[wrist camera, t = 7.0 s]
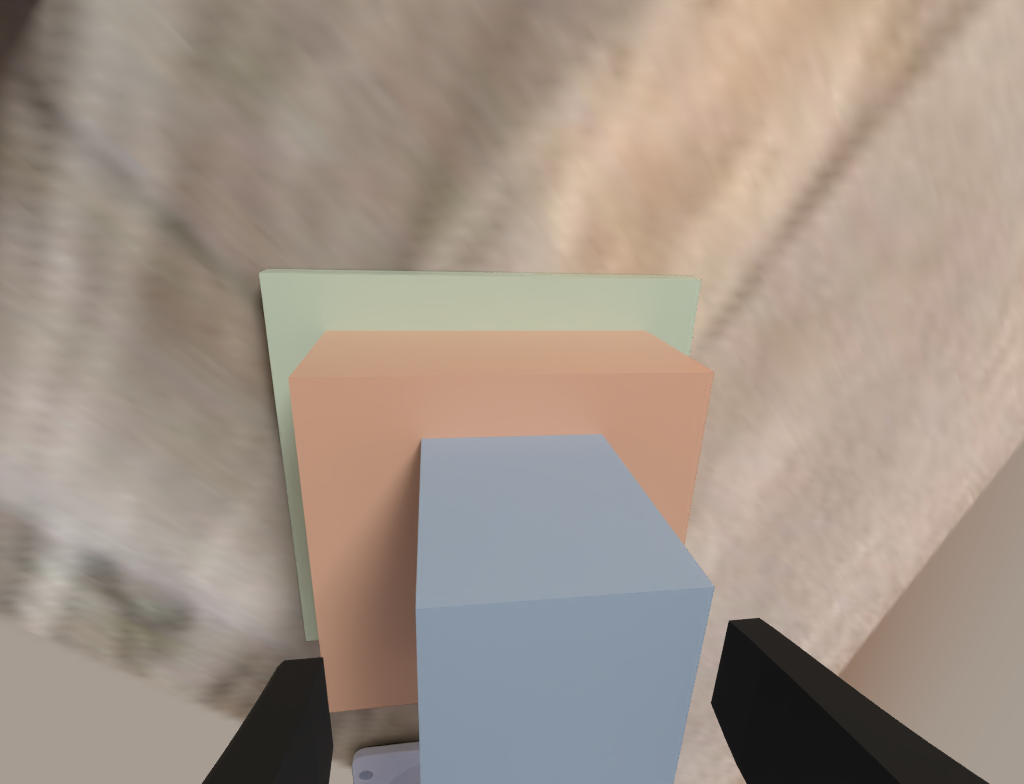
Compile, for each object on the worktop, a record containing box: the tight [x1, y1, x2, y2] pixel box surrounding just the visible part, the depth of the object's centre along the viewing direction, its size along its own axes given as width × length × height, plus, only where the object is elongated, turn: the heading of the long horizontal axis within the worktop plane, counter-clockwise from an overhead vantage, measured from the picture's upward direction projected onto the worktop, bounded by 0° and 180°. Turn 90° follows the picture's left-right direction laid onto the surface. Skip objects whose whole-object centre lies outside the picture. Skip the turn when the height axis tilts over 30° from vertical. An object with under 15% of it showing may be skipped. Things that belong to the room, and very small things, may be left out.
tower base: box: [259, 269, 714, 713], centre depth 15 cm, size 12×12×5 cm
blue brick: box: [416, 434, 714, 784], centre depth 10 cm, size 6×4×5 cm, turn 178°
